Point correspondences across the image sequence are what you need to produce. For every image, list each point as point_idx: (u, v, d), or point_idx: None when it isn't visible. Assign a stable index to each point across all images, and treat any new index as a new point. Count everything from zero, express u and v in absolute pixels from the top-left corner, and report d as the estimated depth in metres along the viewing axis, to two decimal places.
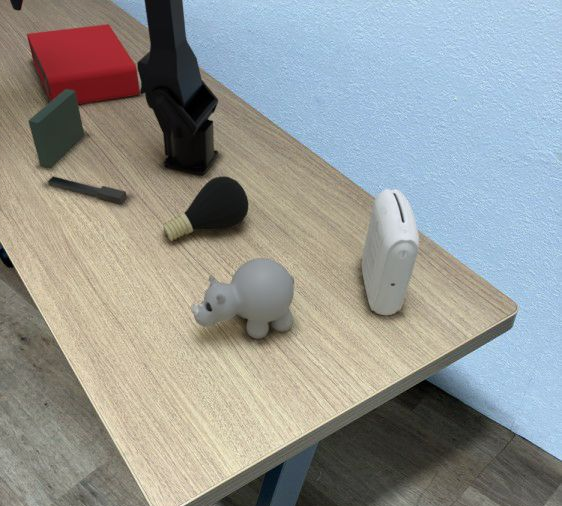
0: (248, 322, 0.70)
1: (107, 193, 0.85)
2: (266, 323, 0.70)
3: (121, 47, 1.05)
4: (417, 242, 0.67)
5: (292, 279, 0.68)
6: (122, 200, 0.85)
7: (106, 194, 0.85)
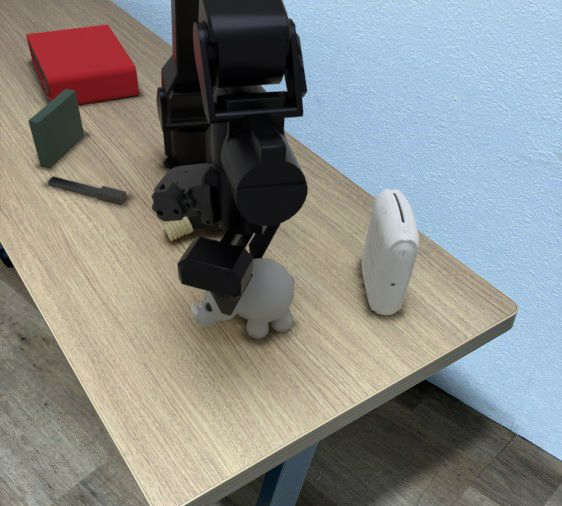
0: (248, 322, 0.70)
1: (107, 193, 0.85)
2: (266, 323, 0.70)
3: (120, 47, 1.04)
4: (417, 242, 0.67)
5: (292, 279, 0.69)
6: (122, 200, 0.85)
7: (106, 194, 0.85)
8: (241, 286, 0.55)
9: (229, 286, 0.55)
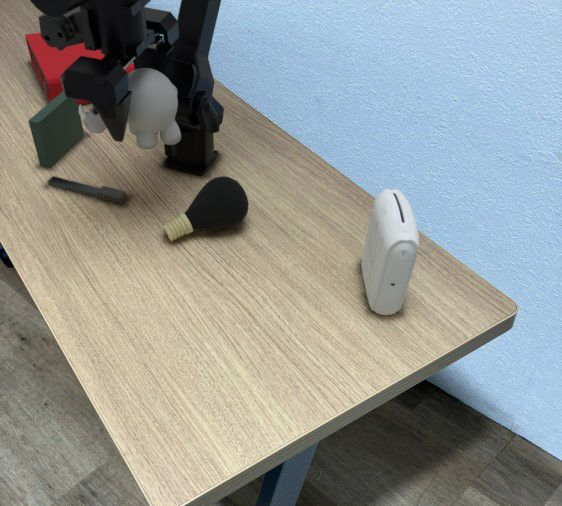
0: (137, 132, 0.75)
1: (107, 193, 0.85)
2: (153, 132, 0.75)
3: None
4: (417, 242, 0.67)
5: (175, 88, 0.74)
6: (122, 200, 0.85)
7: (106, 194, 0.85)
8: (115, 94, 0.65)
9: (104, 93, 0.64)
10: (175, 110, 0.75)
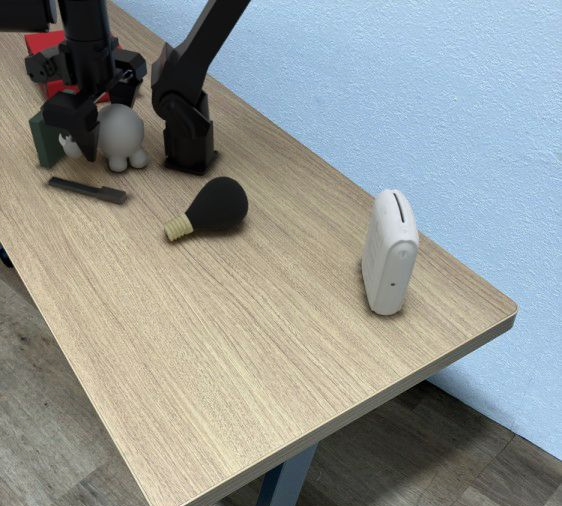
0: (109, 157, 0.89)
1: (107, 193, 0.85)
2: (122, 158, 0.89)
3: None
4: (417, 242, 0.67)
5: (141, 121, 0.87)
6: (122, 200, 0.85)
7: (106, 194, 0.85)
8: (85, 123, 0.77)
9: (75, 122, 0.77)
10: (141, 139, 0.88)
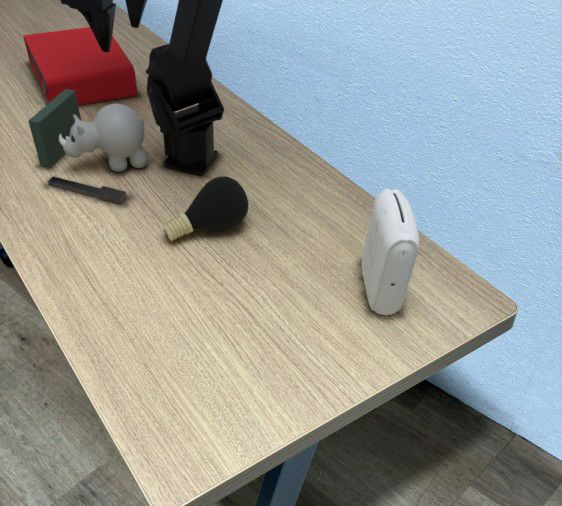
0: (109, 157, 0.89)
1: (107, 193, 0.85)
2: (122, 158, 0.89)
3: (118, 48, 1.04)
4: (417, 242, 0.67)
5: (141, 121, 0.87)
6: (122, 200, 0.85)
7: (106, 194, 0.85)
8: (102, 1, 0.79)
9: None
10: (141, 139, 0.88)
